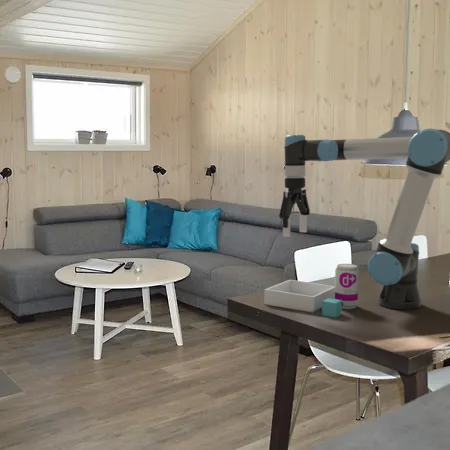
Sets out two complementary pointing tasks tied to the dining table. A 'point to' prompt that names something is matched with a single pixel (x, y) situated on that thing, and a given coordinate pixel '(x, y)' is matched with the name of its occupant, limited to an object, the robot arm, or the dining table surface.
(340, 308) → the cube
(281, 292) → the tote
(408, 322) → the dining table surface
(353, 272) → the supplement can
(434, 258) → the dining table surface
